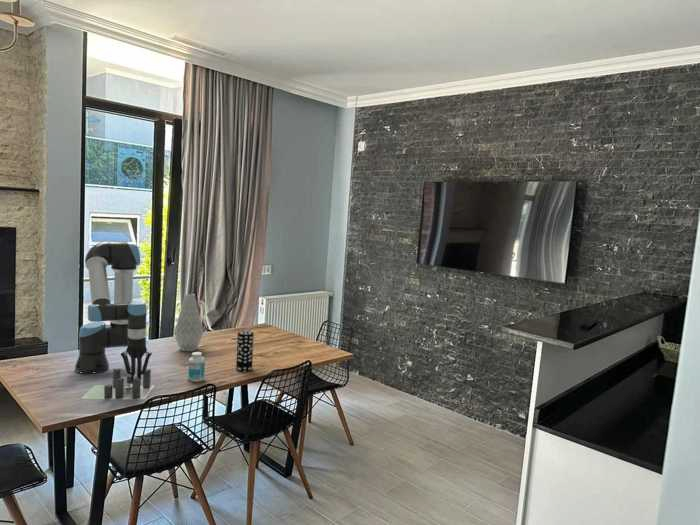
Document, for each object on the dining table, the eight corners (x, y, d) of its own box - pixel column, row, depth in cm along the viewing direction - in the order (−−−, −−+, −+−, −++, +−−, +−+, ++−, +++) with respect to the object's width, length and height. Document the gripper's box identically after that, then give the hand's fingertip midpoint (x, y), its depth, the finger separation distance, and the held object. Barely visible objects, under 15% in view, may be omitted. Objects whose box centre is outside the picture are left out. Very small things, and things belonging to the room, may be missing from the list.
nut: (119, 394, 220) (119, 387, 220) (123, 389, 226) (123, 383, 226) (132, 394, 221) (132, 387, 221) (136, 389, 227) (136, 383, 227)
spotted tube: (236, 372, 262) (238, 334, 260) (235, 367, 270) (237, 331, 268) (252, 372, 264) (254, 334, 262) (251, 367, 272) (253, 330, 270)
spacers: (101, 398, 215) (102, 380, 214) (114, 385, 231) (114, 368, 230) (141, 398, 217) (142, 380, 216) (151, 385, 233) (151, 369, 232)
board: (80, 401, 213) (80, 398, 213) (94, 387, 230) (94, 385, 230) (144, 401, 217) (144, 399, 217) (154, 387, 234) (154, 385, 233)
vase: (206, 346, 307) (207, 293, 304) (198, 353, 291) (200, 297, 287) (178, 344, 307) (179, 291, 303) (169, 352, 290) (171, 296, 287)
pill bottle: (198, 376, 253) (199, 350, 251) (207, 380, 248) (208, 353, 247) (185, 379, 247) (186, 352, 245) (193, 383, 242) (194, 356, 241)
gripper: (118, 339, 217) (118, 392, 219) (150, 339, 219) (149, 392, 221) (123, 334, 225) (123, 386, 227) (154, 335, 227) (153, 386, 229)
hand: (136, 389), depth 224 cm, fingers closed
